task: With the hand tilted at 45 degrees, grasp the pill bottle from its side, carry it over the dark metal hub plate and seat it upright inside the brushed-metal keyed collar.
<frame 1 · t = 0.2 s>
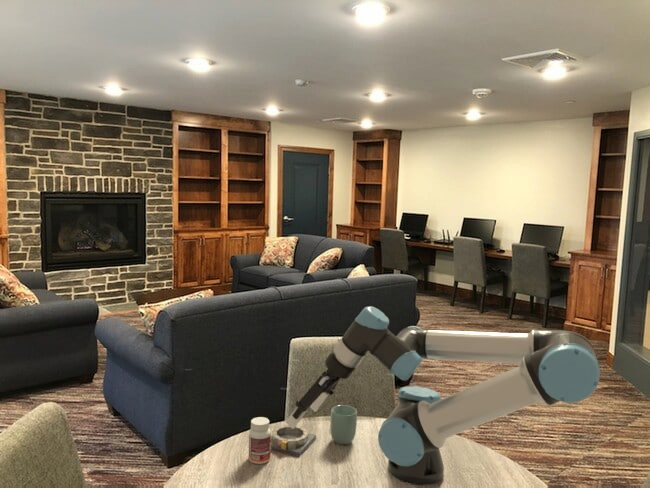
hand: (301, 416, 146), 15 cm above the table, tool tilted 35°, fingers open, 13 cm apart
hub plate: (289, 443, 163), on the table
cup: (342, 442, 165), on the table
pill bottle: (259, 459, 153), on the table
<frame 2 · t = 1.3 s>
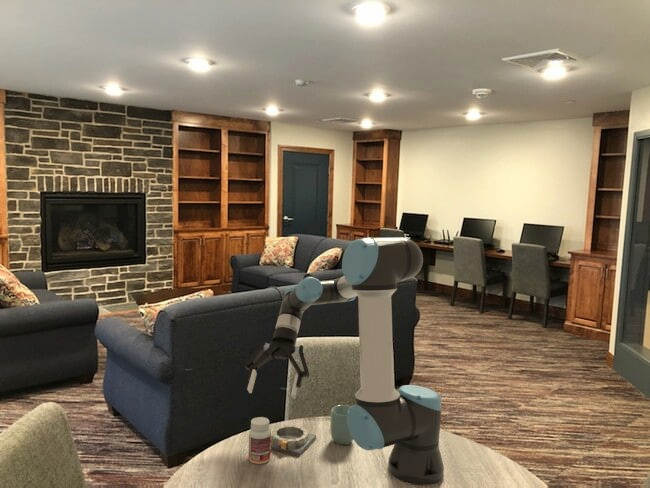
hand: (270, 394, 162), 15 cm above the table, tool tilted 45°, fingers open, 13 cm apart
nothing on the table moved.
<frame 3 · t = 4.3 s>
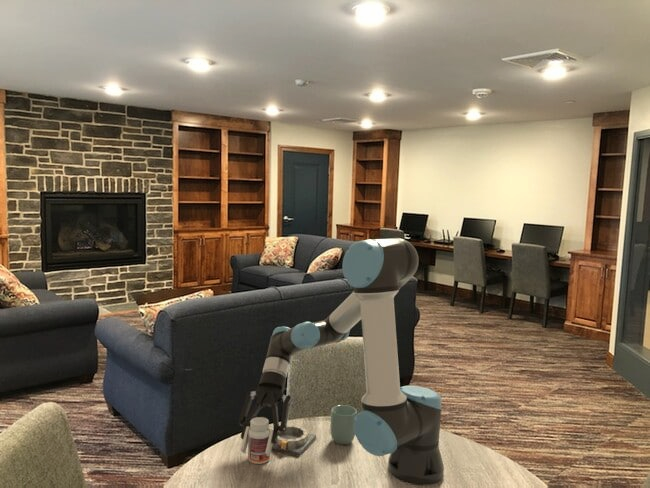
hand: (255, 452, 149), 3 cm above the table, tool tilted 45°, fingers closed on pill bottle, 6 cm apart
pill bottle: (258, 459, 153), on the table, touching gripper
everything else where it was.
when the fingers open (6 cm above the table, at t = 9.3 s): pill bottle drops 1 cm, resting on hub plate.
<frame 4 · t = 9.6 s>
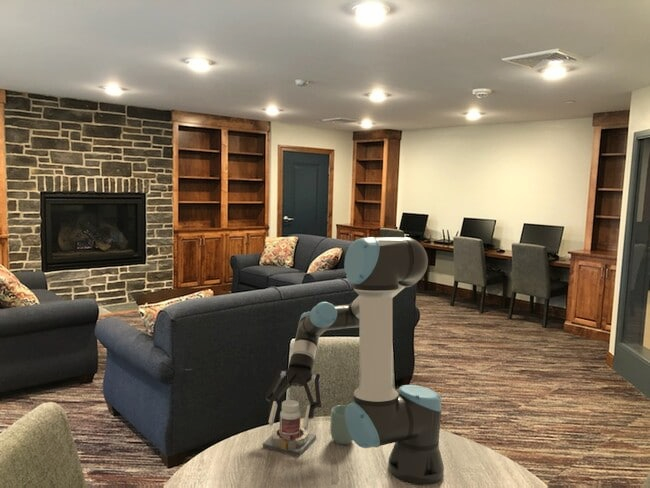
hand: (287, 426, 159), 7 cm above the table, tool tilted 45°, fingers open, 10 cm apart
pill bottle: (289, 440, 162), point 1 cm above the table, touching hub plate
everything else where it was.
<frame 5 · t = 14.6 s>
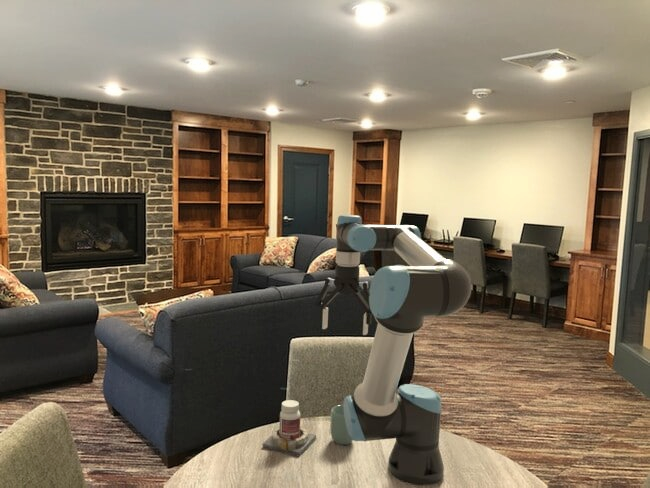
hand: (344, 331, 171), 32 cm above the table, tool pointing down, fingers open, 13 cm apart
nothing on the table moved.
at the end: pill bottle 0.4 cm from the hub plate (horizontally); pill bottle tilted 0°; the gripper is holding nothing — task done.
